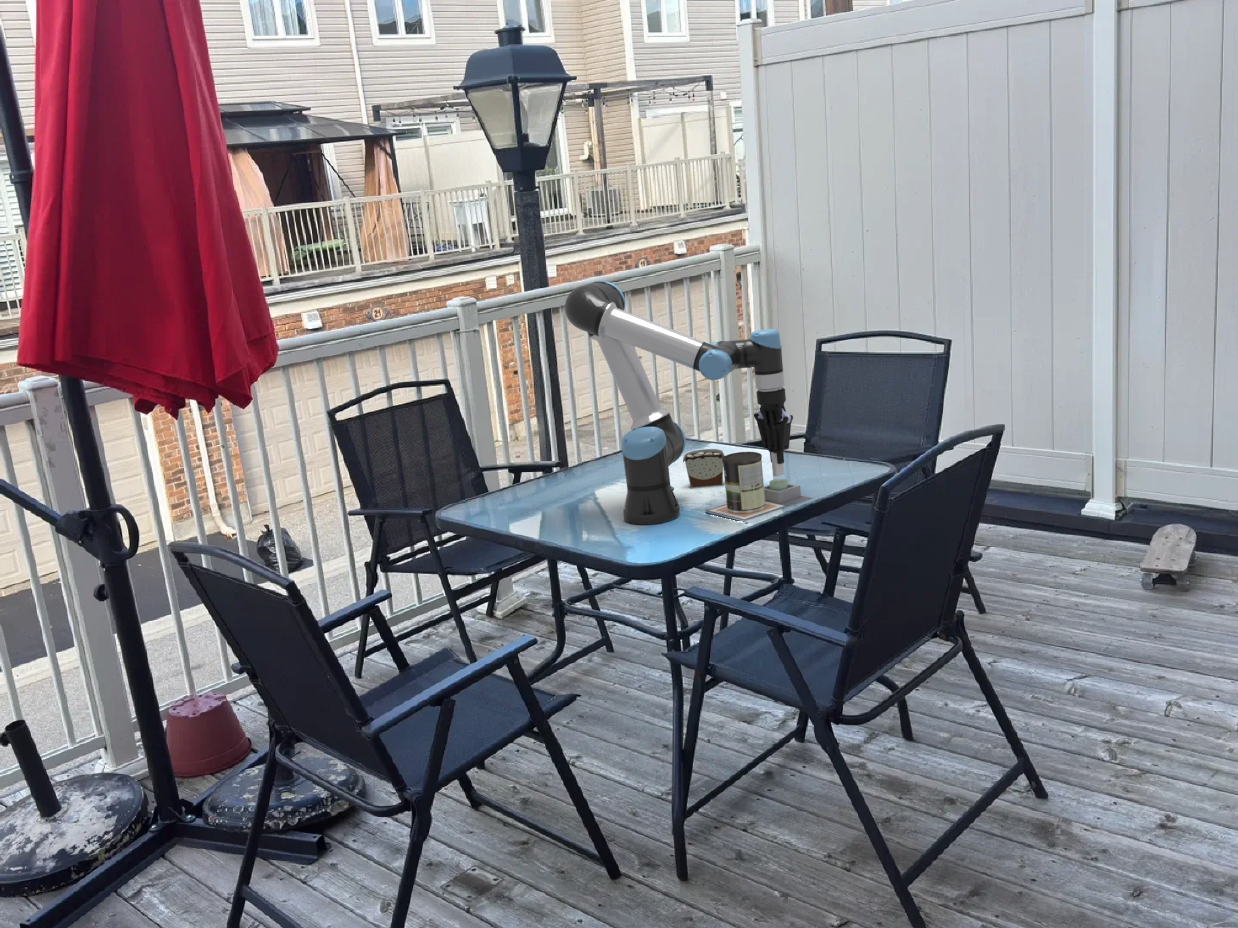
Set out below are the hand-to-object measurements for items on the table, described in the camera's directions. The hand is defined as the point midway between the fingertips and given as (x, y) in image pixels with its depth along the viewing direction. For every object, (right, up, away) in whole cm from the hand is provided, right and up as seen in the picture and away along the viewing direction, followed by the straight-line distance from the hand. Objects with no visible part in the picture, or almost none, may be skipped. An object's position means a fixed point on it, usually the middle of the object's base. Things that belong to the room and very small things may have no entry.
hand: (778, 474), depth 291 cm
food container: (-17, -3, +28) cm, 32 cm away
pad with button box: (-5, -9, -2) cm, 10 cm away
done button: (0, -5, +1) cm, 5 cm away
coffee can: (-9, -9, -5) cm, 14 cm away
